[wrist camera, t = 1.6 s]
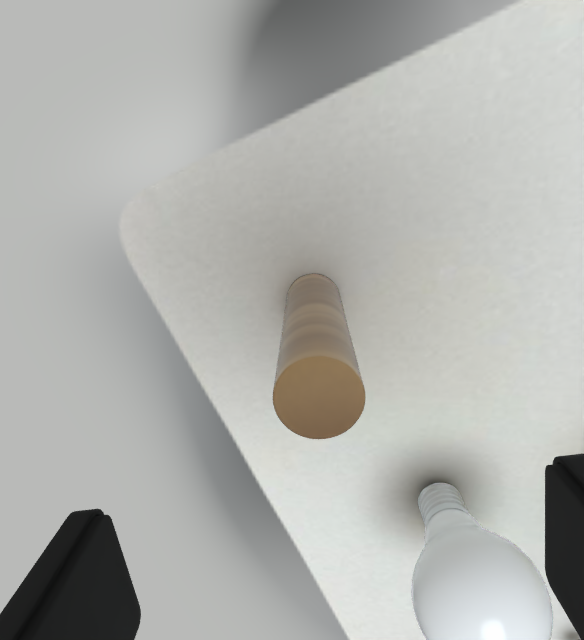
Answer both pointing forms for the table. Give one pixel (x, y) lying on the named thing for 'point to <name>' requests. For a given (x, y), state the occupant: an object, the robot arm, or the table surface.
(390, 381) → the table surface
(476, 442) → the table surface
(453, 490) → the lightbulb
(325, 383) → the tan cylinder
